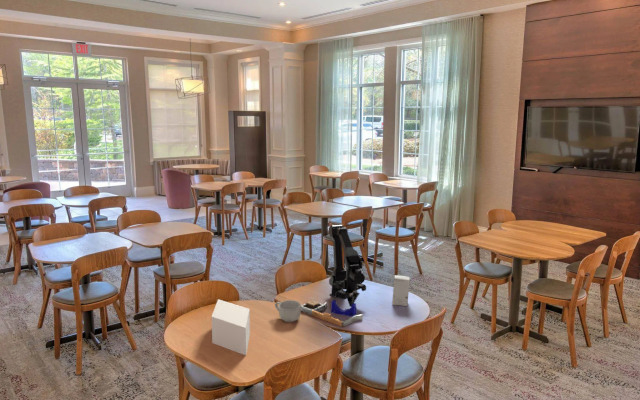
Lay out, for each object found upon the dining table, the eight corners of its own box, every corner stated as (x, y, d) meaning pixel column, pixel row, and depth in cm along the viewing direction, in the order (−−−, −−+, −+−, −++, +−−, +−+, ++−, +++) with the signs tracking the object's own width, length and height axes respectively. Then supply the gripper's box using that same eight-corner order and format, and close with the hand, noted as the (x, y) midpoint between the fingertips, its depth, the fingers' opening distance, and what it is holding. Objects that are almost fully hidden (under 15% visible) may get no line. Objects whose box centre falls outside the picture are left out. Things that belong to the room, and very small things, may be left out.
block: (236, 320, 232) (235, 296, 230) (265, 351, 203) (265, 323, 200) (200, 327, 224) (199, 302, 222) (225, 361, 194) (225, 332, 192)
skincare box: (392, 305, 254) (393, 278, 251) (392, 300, 259) (394, 274, 257) (408, 306, 252) (409, 279, 249) (408, 302, 258) (409, 275, 255)
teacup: (305, 319, 234) (305, 304, 232) (289, 326, 226) (289, 310, 225) (285, 311, 243) (285, 296, 242) (269, 317, 235) (269, 302, 234)
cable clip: (356, 313, 242) (356, 302, 241) (353, 317, 238) (354, 305, 237) (334, 309, 247) (334, 298, 246) (331, 313, 242) (331, 302, 241)
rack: (317, 303, 254) (317, 296, 254) (362, 319, 235) (363, 311, 234) (299, 310, 244) (299, 303, 244) (345, 328, 225) (345, 320, 224)
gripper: (350, 270, 257) (349, 297, 260) (327, 278, 243) (327, 307, 246) (367, 274, 250) (366, 303, 252) (345, 283, 236) (344, 313, 239)
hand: (350, 306), depth 248 cm, fingers closed
